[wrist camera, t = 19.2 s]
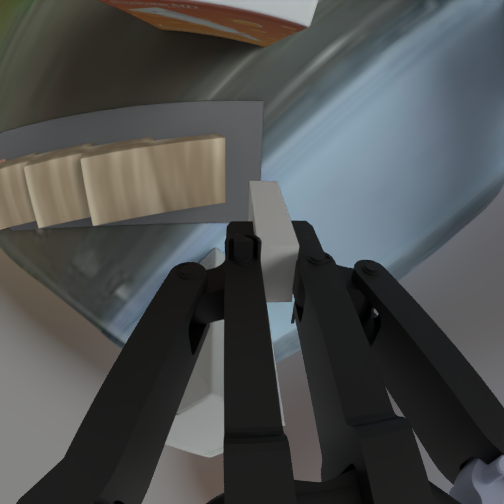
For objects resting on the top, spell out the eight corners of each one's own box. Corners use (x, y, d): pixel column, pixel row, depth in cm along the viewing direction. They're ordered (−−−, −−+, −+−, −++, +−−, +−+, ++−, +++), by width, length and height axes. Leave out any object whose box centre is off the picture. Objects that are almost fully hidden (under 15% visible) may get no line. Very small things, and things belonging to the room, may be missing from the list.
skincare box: (211, 324, 34) (209, 460, 21) (161, 293, 31) (135, 436, 18) (267, 279, 31) (291, 428, 18) (215, 240, 28) (209, 398, 15)
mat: (262, 100, 21) (263, 101, 21) (258, 218, 27) (258, 222, 26) (-9, 135, 20) (-13, 137, 19) (13, 227, 25) (10, 230, 25)
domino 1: (91, 146, 20) (-20, 175, 17) (100, 206, 23) (-5, 230, 19) (92, 142, 21) (-13, 169, 18) (100, 199, 24) (0, 222, 21)
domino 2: (154, 140, 20) (23, 167, 17) (159, 204, 23) (38, 228, 20) (152, 136, 22) (29, 161, 18) (157, 196, 24) (42, 219, 21)
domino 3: (225, 137, 21) (80, 158, 18) (225, 202, 24) (93, 226, 20) (218, 133, 22) (82, 153, 19) (219, 194, 25) (94, 216, 21)
